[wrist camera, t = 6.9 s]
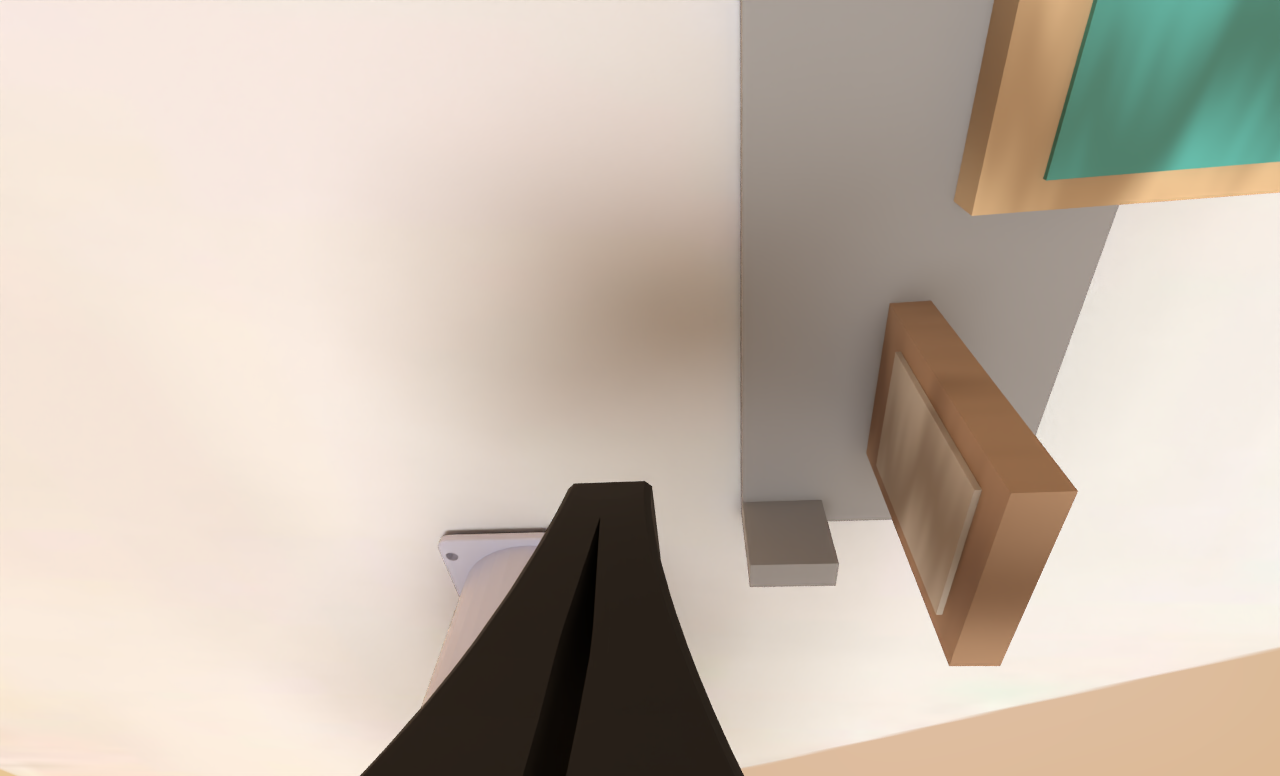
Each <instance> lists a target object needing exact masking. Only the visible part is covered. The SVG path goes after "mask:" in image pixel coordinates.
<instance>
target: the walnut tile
mask: <svg viewBox="0 0 1280 776" xmlns="http://www.w3.org/2000/svg"><path fill="white" fill-rule="evenodd" d="M866 454H867V456H868V459H869V462H870V464H871V467H872V469H873V472H874V474H875V477H876V480H877V482H878V485H879V487H880V490H881V492H882V495H883V497H884V500H885V503H886V505H887V508H888V510H889V513H890V515H891V518H892V521H893V523H894V526H895V528H896V531H897V533H898V536H899V538H900V541H901V544H902V546H903V549H904V551H905V554H906V556H907V559H908V562H909V564H910V567H911V569H912V572H913V574H914V577H915V579H916V582H917V585H918V587H919V590H920V592H921V595H922V597H923V600H924V603H925V605H926V608H927V610H928V613H929V615H930V618H931V621H932V623H933V626H934V628H935V631H936V633H937V636H938V638H939V641H940V644H941V646H942V649H943V651H944V654H945V656H946V659H947V662H948V664H949V666H1000V665H1001V663H1002V660H1003V658H1004V656H1005V654H1006V651H1007V649H1008V647H1009V645H1010V642H1011V640H1012V638H1013V636H1014V633H1015V631H1016V629H1017V627H1018V624H1019V622H1020V620H1021V618H1022V615H1023V613H1024V611H1025V609H1026V607H1027V604H1028V602H1029V600H1030V598H1031V595H1032V593H1033V591H1034V589H1035V586H1036V584H1037V582H1038V580H1039V577H1040V575H1041V573H1042V571H1043V568H1044V566H1045V564H1046V562H1047V559H1048V557H1049V555H1050V553H1051V550H1052V548H1053V546H1054V544H1055V541H1056V539H1057V537H1058V535H1059V533H1060V530H1061V528H1062V526H1063V524H1064V521H1065V519H1066V517H1067V515H1068V512H1069V510H1070V508H1071V506H1072V503H1073V501H1074V499H1075V497H1076V494H1077V492H1078V491H1077V489H1076V488H1075V487H1074V486H1073V484H1072V483H1071V482H1070V480H1069V479H1068V478H1067V476H1066V475H1065V474H1064V473H1063V471H1062V470H1061V469H1060V467H1059V466H1058V465H1057V463H1056V462H1055V461H1054V460H1053V458H1052V457H1051V456H1050V454H1049V453H1048V452H1047V450H1046V449H1045V448H1044V447H1043V445H1042V444H1041V443H1040V441H1039V440H1038V439H1037V437H1036V436H1035V435H1034V434H1033V432H1032V431H1031V430H1030V428H1029V427H1028V426H1027V424H1026V423H1025V422H1024V421H1023V419H1022V418H1021V417H1020V415H1019V414H1018V413H1017V412H1016V410H1015V409H1014V408H1013V406H1012V405H1011V404H1010V402H1009V401H1008V400H1007V399H1006V397H1005V396H1004V395H1003V393H1002V392H1001V391H1000V389H999V388H998V387H997V386H996V384H995V383H994V382H993V380H992V379H991V378H990V376H989V375H988V374H987V373H986V371H985V370H984V369H983V367H982V366H981V365H980V363H979V362H978V361H977V360H976V358H975V357H974V356H973V354H972V353H971V352H970V350H969V349H968V348H967V347H966V345H965V344H964V343H963V341H962V340H961V339H960V337H959V336H958V335H957V334H956V332H955V331H954V330H953V328H952V327H951V326H950V325H949V323H948V322H947V321H946V319H945V318H944V317H943V315H942V314H941V313H940V312H939V310H938V309H937V308H936V306H935V305H934V304H933V302H932V301H916V302H900V303H890V304H889V311H888V317H887V323H886V330H885V336H884V343H883V349H882V355H881V362H880V368H879V375H878V381H877V387H876V394H875V400H874V407H873V413H872V419H871V426H870V432H869V439H868V445H867V451H866Z"/></svg>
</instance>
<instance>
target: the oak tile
mask: <svg viewBox="0 0 1280 776" xmlns="http://www.w3.org/2000/svg"><path fill="white" fill-rule="evenodd" d="M1278 192H1280V0H994V3H993V8H992V13H991V18H990V23H989V28H988V33H987V38H986V43H985V48H984V53H983V58H982V63H981V68H980V73H979V78H978V83H977V88H976V93H975V98H974V103H973V108H972V113H971V118H970V123H969V128H968V133H967V138H966V143H965V148H964V153H963V157H962V162H961V167H960V172H959V177H958V182H957V187H956V192H955V197H954V202H955V203H957V204H958V205H959V206H960V207H961V208H963V209H964V210H965V211H966V212H967V213H969V214H970V215H971V216H977V215H991V214H1004V213H1017V212H1030V211H1043V210H1056V209H1069V208H1082V207H1095V206H1108V205H1121V204H1134V203H1147V202H1160V201H1173V200H1186V199H1200V198H1213V197H1226V196H1239V195H1252V194H1265V193H1278Z"/></svg>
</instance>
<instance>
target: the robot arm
mask: <svg viewBox="0 0 1280 776" xmlns="http://www.w3.org/2000/svg"><path fill="white" fill-rule="evenodd" d="M438 549H439V551H440V554H441V556H442V558H443V561H444V563H445V565H446V567H447V570H448V572H449V574H450V577H451V579H452V581H453V583H454V586H455V588H456V590H457V592H458V595H459V597H460V598H459V601H458V604H457V607H456V610H455V612H454V615H453V618H452V621H451V624H450V627H449V629H448V632H447V635H446V638H445V641H444V644H443V647H442V649H441V652H440V655H439V658H438V661H437V664H436V666H435V669H434V672H433V675H432V678H431V681H430V684H429V686H428V689H427V692H426V695H425V698H424V701H423V703H422V706H421V709H420V710H419V711H418V712H417V713H416V714H415V715H414V717H413V718H412V719H411V720H410V721H409V722H408V723H407V724H406V726H405V727H404V728H403V729H402V730H401V731H400V732H399V734H398V735H397V736H396V737H395V738H394V739H393V740H392V742H391V743H390V744H389V745H388V746H387V747H386V748H385V749H384V751H383V752H382V753H381V754H380V755H379V756H378V757H377V758H376V759H375V760H374V761H373V762H372V764H371V765H370V766H369V767H368V768H367V769H366V770H365V771H364V772H363V773H362V774H361V775H360V776H744V775H743V773H742V771H741V769H740V767H739V765H738V763H737V761H736V758H735V756H734V754H733V752H732V750H731V748H730V746H729V744H728V741H727V739H726V737H725V735H724V733H723V730H722V728H721V726H720V724H719V721H718V719H717V717H716V715H715V712H714V710H713V708H712V705H711V703H710V701H709V698H708V696H707V693H706V691H705V689H704V686H703V684H702V682H701V679H700V677H699V674H698V672H697V669H696V667H695V664H694V661H693V659H692V656H691V654H690V651H689V648H688V646H687V643H686V640H685V637H684V634H683V632H682V629H681V626H680V623H679V620H678V617H677V614H676V611H675V608H674V605H673V602H672V599H671V596H670V592H669V589H668V585H667V581H666V578H665V574H664V571H663V567H662V564H661V560H660V550H659V541H658V533H657V525H656V516H655V508H654V500H653V491H652V486H651V485H649V484H648V483H647V482H645V481H637V482H607V483H578V484H573V485H572V486H571V487H570V488H569V489H568V491H567V493H566V495H565V497H564V499H563V501H562V503H561V505H560V507H559V509H558V511H557V512H556V514H555V516H554V518H553V520H552V522H551V523H550V525H549V527H548V529H547V530H546V532H535V533H497V534H458V535H445V536H443V537H441V539H440V541H439V544H438Z"/></svg>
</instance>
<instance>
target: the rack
mask: <svg viewBox="0 0 1280 776" xmlns="http://www.w3.org/2000/svg"><path fill="white" fill-rule="evenodd" d="M993 3H994V0H741V514H742V523H743V532H744V540H745V549H746V558H747V566H748V575H749V583H750V587H776V586H836V580H837V572H838V565H839V563H838V559H837V555H836V551H835V548H834V544H833V540H832V537H831V533H830V529H829V526H828V522H827V521H853V520H890V519H892V518H891V515H890V513H889V510H888V508H887V505H886V503H885V500H884V497H883V495H882V492H881V490H880V487H879V485H878V482H877V480H876V477H875V474H874V472H873V469H872V467H871V464H870V462H869V459H868V456H867V454H866V451H867V445H868V439H869V432H870V426H871V419H872V413H873V407H874V400H875V394H876V387H877V381H878V375H879V368H880V362H881V355H882V349H883V343H884V336H885V330H886V323H887V317H888V311H889V304H890V303H900V302H916V301H932V302H933V304H934V305H935V306H936V308H937V309H938V310H939V312H940V313H941V314H942V315H943V317H944V318H945V319H946V321H947V322H948V323H949V325H950V326H951V327H952V328H953V330H954V331H955V332H956V334H957V335H958V336H959V337H960V339H961V340H962V341H963V343H964V344H965V345H966V347H967V348H968V349H969V350H970V352H971V353H972V354H973V356H974V357H975V358H976V360H977V361H978V362H979V363H980V365H981V366H982V367H983V369H984V370H985V371H986V373H987V374H988V375H989V376H990V378H991V379H992V380H993V382H994V383H995V384H996V386H997V387H998V388H999V389H1000V391H1001V392H1002V393H1003V395H1004V396H1005V397H1006V399H1007V400H1008V401H1009V402H1010V404H1011V405H1012V406H1013V408H1014V409H1015V410H1016V412H1017V413H1018V414H1019V415H1020V417H1021V418H1022V419H1023V421H1024V422H1025V423H1026V424H1027V426H1028V427H1029V428H1030V430H1031V431H1032V432H1033V434H1034V435H1036V432H1037V430H1038V427H1039V424H1040V421H1041V419H1042V416H1043V413H1044V410H1045V408H1046V405H1047V402H1048V399H1049V397H1050V394H1051V391H1052V388H1053V386H1054V383H1055V380H1056V377H1057V375H1058V372H1059V369H1060V366H1061V364H1062V361H1063V358H1064V355H1065V352H1066V350H1067V347H1068V344H1069V341H1070V339H1071V336H1072V333H1073V330H1074V328H1075V325H1076V322H1077V319H1078V317H1079V314H1080V311H1081V308H1082V306H1083V303H1084V300H1085V297H1086V295H1087V292H1088V289H1089V286H1090V284H1091V281H1092V278H1093V275H1094V272H1095V270H1096V267H1097V264H1098V261H1099V259H1100V256H1101V253H1102V250H1103V248H1104V245H1105V242H1106V239H1107V237H1108V234H1109V231H1110V228H1111V226H1112V223H1113V220H1114V217H1115V215H1116V212H1117V209H1118V206H1119V205H1108V206H1095V207H1082V208H1069V209H1056V210H1043V211H1030V212H1017V213H1004V214H991V215H977V216H971V215H970V214H969V213H967V212H966V211H965V210H964V209H963V208H961V207H960V206H959V205H958V204H957V203H955V202H954V197H955V192H956V187H957V182H958V177H959V172H960V167H961V162H962V157H963V153H964V148H965V143H966V138H967V133H968V128H969V123H970V118H971V113H972V108H973V103H974V98H975V93H976V88H977V83H978V78H979V73H980V68H981V63H982V58H983V53H984V48H985V43H986V38H987V33H988V28H989V23H990V18H991V13H992V8H993Z"/></svg>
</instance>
